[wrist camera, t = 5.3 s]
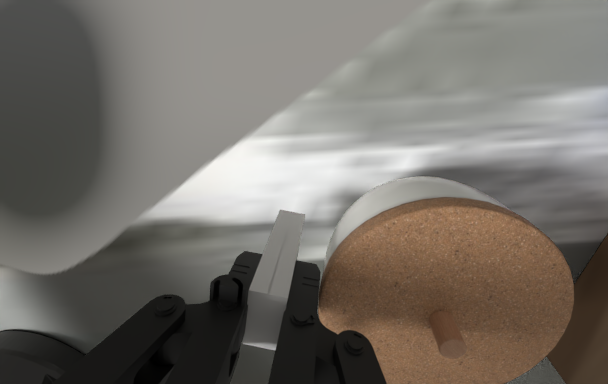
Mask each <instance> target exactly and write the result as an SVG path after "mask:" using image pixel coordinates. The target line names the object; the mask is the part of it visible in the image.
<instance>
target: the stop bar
mask: <svg viewBox="0 0 608 384" xmlns="http://www.w3.org/2000/svg"><path fill="white" fill-rule="evenodd" d="M547 358H548V359H549V361H550V362H551V363H552V365H553V366H554V368H555V369H556V370H557V372H558V373H559V374H560V376H561V377H562V379H563V380H564V381H565V383H566V384H608V234H607V236H606V237H605V239H604V240H603V242H602V243H601V245H600V246H599V248H598V249H597V251H596V252H595V254H594V255H593V257H592V258H591V260H590V261H589V263H588V265H587V266H586V268H585V269H584V271H583V272H582V274H581V275H580V277H579V278H578V280H577V281H576V283H575V284H574V304H573V309H572V314H571V319H570V321H569V323H568V325H567V328H566V330H565V332H564V334H563V335H562V337H561V338H560V340H559V341H558V343H557V345H556V346H555V347H554V348H553V349H552V350H551V351H550V352H549V354H548V355H547Z"/></svg>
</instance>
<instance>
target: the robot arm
mask: <svg viewBox="0 0 608 384" xmlns="http://www.w3.org/2000/svg"><path fill="white" fill-rule="evenodd" d="M304 218H305V214H299V213H294V212H289V211H284V210H280V211H279V214H278V216H277V219H276V221H275V224H274V227H273V229H272V232H271V234H270V237H269V239H268V242H267V245H266V247H265V250H264V252H263V254H258V253H253V252H248V251H244V252H243V253H242V254H240V255H239V256H238V257H237V259H236V260H235V262H234V265H233V266H232V268H231V271H230V272H229V274H228V275H222V276H219V277H217V278H215V279H214V280H213V281H212V282H211V284H210V301H208V302H205V303H201V304H189V305H186V304H185V302H184V300H183V299H182V298H181V297H179V296H176V295H162V296H159V297H156V298H155V299H153V300H152V301H150V302H149V303H148V304H146V305H145V306H144V307H143V308H142V309H140V310H139V311H138V312H137V313H136V314H134V315H133V316H132V317H131V318H130V319H128V320H127V321H126V322H125V323H124V324H123V325H121V326H120V327H119V328H118V329H117V330H115V331H114V332H113V333H112V334H111V335H109V336H108V337H107V338H106V339H105V340H103V341H102V342H101V343H100V344H99V345H97V346H96V347H95V348H94V349H93V350H91V351H90V352H89V353H88V354H87V355H85V356H84V355H83V354H81V353H80V352H78V351H76V350H75V349H73V348H71V347H69V346H67V345H65V344H63V343H61V342H59V341H57V340H54V339H51V338H49V337H46V336H42V335H39V334H34V333H29V332H22V331H3V332H0V384H230V381H231V378H232V375H233V372H234V369H235V366H236V363H237V360H238V358H239V350H240V345H241V343H242V340H243V344H246V345H251V346H255V347H260V348H265V349H270V350H274V351H275V355H274V360H273V364H272V369H271V374H270V378H269V383H268V384H387V383H386V380H385V378H384V375H383V372H382V370H381V367H380V365H379V362H378V360H377V357H376V354H375V352H374V349H373V347H372V345H371V343H370V341H369V340H368V339H367V338H366V337H365V336H364V335H363V334H361V333H359V332H357V331H353V330H345V331H342V332H341V333H339V334H337V333H335V332H333V331H331V330H329V329H328V328H326V327H325V326H324V325H323V324H322V323H321V322H320V320H319V318H318V315H317V307H318V295H319V281H320V271H319V268H318V266H317V264H312V263H307V262H302V261H297V256H298V250H299V245H300V240H301V234H302V229H303V224H304Z"/></svg>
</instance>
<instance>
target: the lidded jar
mask: <svg viewBox="0 0 608 384" xmlns="http://www.w3.org/2000/svg"><path fill="white" fill-rule="evenodd" d="M573 304H574V283H573V279H572V275H571V271H570V268H569V266H568V264H567V262H566V260H565V258H564V256H563V254H562V252H561V251H560V250H559V249H558V247H557V246H556V245H555V244H554V243H553V241H552V240H551V239H550V238H549V237H548V236H546V235H545V234H544V233H543V232H541V231H540V230H539V229H538V228H537V227H535V226H534V225H533V224H532V223H530V222H529V221H528V220H526V219H525V218H523V217H521V216H519V215H518V214H516V213H514V212H512V211H511V210H510V209H508V208H507V207H506V206H504V205H503V204H502V203H500V202H499V201H498V200H496V199H494V198H492V197H490V196H488V195H487V194H485V193H483V192H481V191H479V190H477V189H475V188H474V187H471V186H468V185H465V184H462V183H460V182H457V181H453V180H450V179H445V178H440V177H430V176H417V177H408V178H401V179H397V180H393V181H389V182H387V183H385V184H382V185H380V186H377V187H376V188H374V189H372V190H370V191H369V192H367V193H365V194H364V195H363V196H362V197H360V198H359V199H358V200H357V201H355V202H354V203H353V204H352V205H351V206H350V207H349V209H348V210H347V211H346V212H345V213H344V215H343V216H342V218H341V219H340V221H339V222H338V224H337V226H336V228H335V230H334V232H333V235H332V237H331V239H330V242H329V245H328V249H327V253H326V257H325V262H324V268H323V276H322V280H321V285H320V289H319V307H318V314H319V319H320V322H321V323H322V324H323V325H324V326H325V327H326V328H328V329H329V330H331V331H333V332H335V333H337V334H339V333H341V332H342V331H345V330H353V331H357V332H359V333H361V334H363V335H364V336H365V337H366V338H367V339H368V340H369V341H370V343H371V345H372V347H373V349H374V352H375V354H376V357H377V360H378V362H379V365H380V367H381V370H382V372H383V375H384V378H385V380H386V383H387V384H504V383H507V382H509V381H511V380H513V379H515V378H517V377H518V376H520V375H522V374H524V373H525V372H527V371H529V370H530V369H531V368H533V367H534V366H535V365H536V364H538V363H539V362H540V361H541V360H543V359H544V358H545V357H546V356H547V355H548V354H549V352H550V351H551V350H552V349H553V348H554V347H555V346H556V345H557V343H558V341H559V340H560V338H561V337H562V335H563V334H564V332H565V330H566V328H567V325H568V323H569V321H570V319H571V314H572V309H573Z"/></svg>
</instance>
